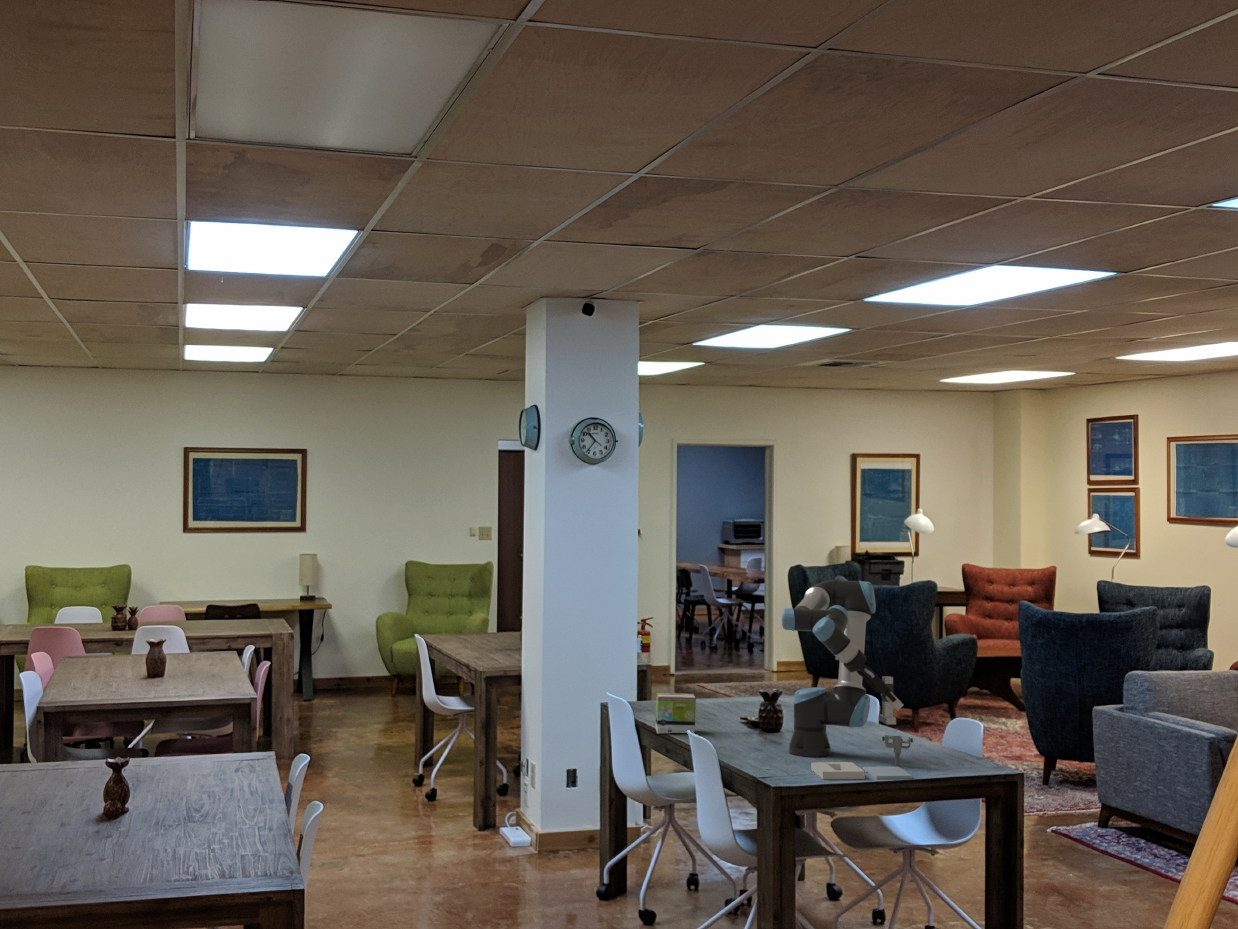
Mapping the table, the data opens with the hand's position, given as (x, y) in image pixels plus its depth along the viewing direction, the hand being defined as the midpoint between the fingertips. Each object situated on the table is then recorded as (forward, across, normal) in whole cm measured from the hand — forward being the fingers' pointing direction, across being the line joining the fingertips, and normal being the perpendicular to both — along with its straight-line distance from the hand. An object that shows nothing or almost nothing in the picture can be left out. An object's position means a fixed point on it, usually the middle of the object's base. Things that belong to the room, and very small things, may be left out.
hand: (898, 706), depth 387 cm
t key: (+1, 0, -6) cm, 6 cm away
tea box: (-29, -76, -61) cm, 102 cm away
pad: (+13, 0, -18) cm, 23 cm away
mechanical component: (+19, -13, -13) cm, 27 cm away
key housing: (+1, 0, -30) cm, 31 cm away
